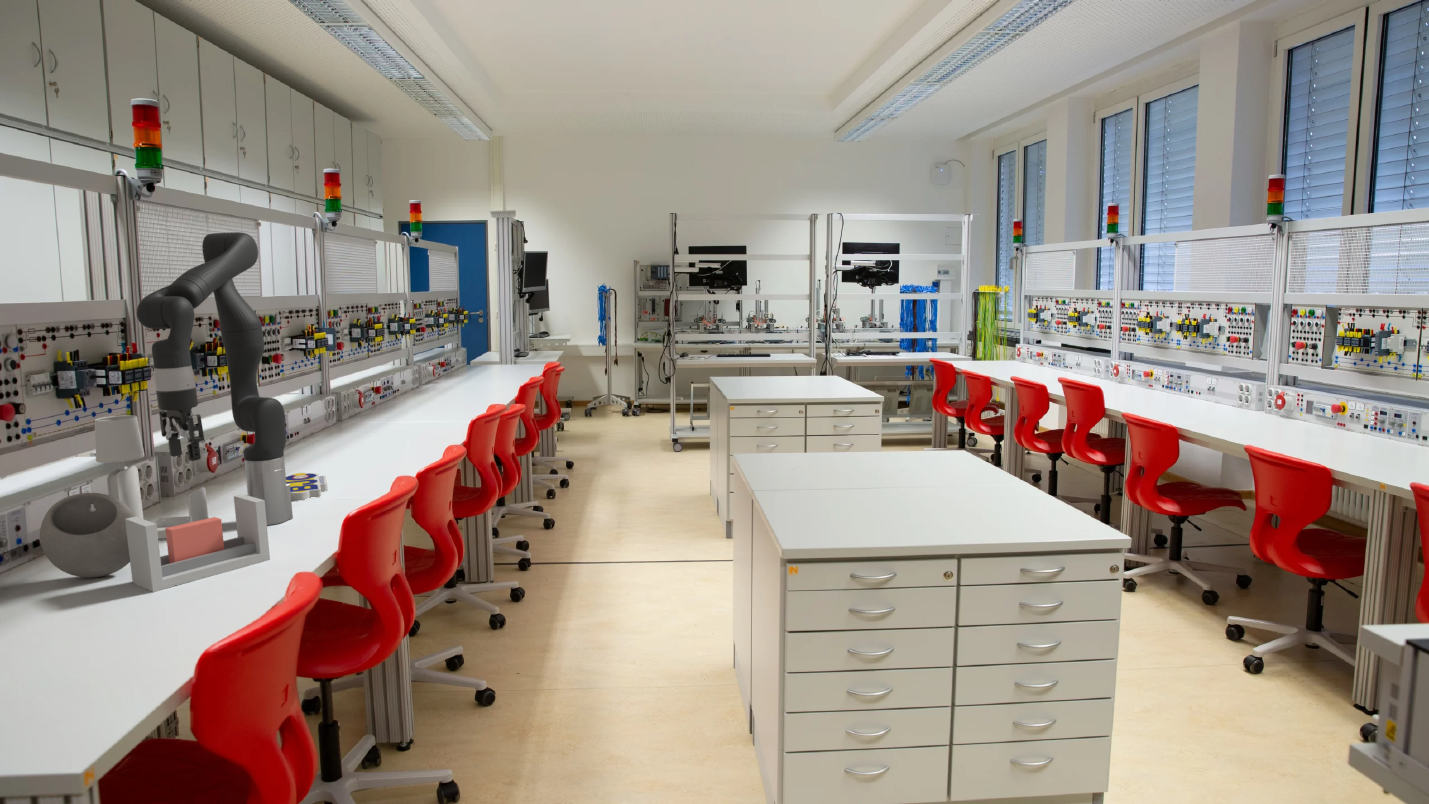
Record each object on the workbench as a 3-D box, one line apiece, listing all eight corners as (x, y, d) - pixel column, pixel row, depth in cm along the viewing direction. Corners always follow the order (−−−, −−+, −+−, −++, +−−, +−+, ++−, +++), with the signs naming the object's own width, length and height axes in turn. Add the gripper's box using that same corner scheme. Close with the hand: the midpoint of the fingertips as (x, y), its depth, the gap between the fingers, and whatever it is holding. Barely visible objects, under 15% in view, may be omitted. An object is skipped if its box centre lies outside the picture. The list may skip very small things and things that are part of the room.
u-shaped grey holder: (248, 551, 197) (242, 494, 195) (269, 559, 192) (264, 500, 189) (132, 582, 178) (125, 518, 176) (153, 592, 172) (145, 526, 170)
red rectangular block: (218, 555, 189) (214, 517, 187) (225, 558, 187) (221, 519, 185) (169, 568, 180) (165, 528, 179) (176, 571, 179) (171, 530, 177)
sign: (328, 489, 246) (251, 498, 237) (329, 498, 246) (252, 507, 237) (324, 470, 271) (254, 477, 262) (325, 478, 271) (255, 485, 262)
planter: (37, 587, 176) (26, 500, 173) (54, 575, 182) (43, 492, 180) (138, 578, 180) (128, 493, 178) (151, 567, 187) (141, 485, 184)
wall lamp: (192, 536, 209) (179, 418, 205) (96, 542, 205) (81, 422, 201) (209, 524, 219) (197, 412, 215) (118, 530, 215) (104, 415, 211)
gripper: (209, 386, 185) (219, 458, 187) (178, 382, 192) (187, 451, 195) (173, 392, 178) (183, 465, 181) (142, 387, 186) (152, 457, 189)
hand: (185, 457), depth 188 cm, fingers open, 8 cm apart
